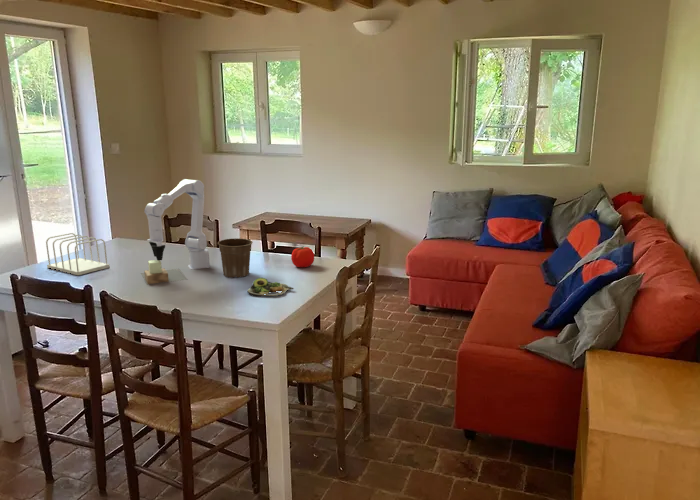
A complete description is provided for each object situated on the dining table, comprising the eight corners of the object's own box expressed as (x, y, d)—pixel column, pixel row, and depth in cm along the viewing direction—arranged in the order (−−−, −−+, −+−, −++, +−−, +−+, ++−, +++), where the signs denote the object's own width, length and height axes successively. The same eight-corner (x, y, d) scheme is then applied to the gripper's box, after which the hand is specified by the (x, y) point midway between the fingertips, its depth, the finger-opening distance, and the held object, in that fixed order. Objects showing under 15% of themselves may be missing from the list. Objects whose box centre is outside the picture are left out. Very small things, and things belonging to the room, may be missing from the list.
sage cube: (148, 271, 256) (148, 260, 254) (160, 269, 258) (159, 259, 257) (150, 274, 251) (149, 263, 250) (162, 272, 254) (161, 262, 252)
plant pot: (260, 272, 270) (259, 240, 266) (239, 281, 256) (237, 247, 252) (234, 268, 278) (232, 236, 274) (212, 276, 264) (210, 243, 260)
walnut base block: (165, 276, 262) (164, 268, 261) (168, 281, 254) (167, 273, 253) (145, 278, 258) (144, 270, 257) (147, 284, 250) (147, 275, 249)
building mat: (179, 269, 275) (179, 268, 274) (187, 280, 257) (187, 279, 257) (140, 274, 266) (140, 273, 266) (147, 285, 249) (146, 284, 249)
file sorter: (110, 267, 277) (107, 237, 273) (78, 276, 262) (74, 244, 259) (79, 260, 289) (75, 231, 286) (47, 268, 275) (43, 238, 271)
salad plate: (298, 286, 250) (298, 276, 249) (287, 299, 233) (287, 289, 232) (257, 284, 253) (256, 274, 252) (243, 296, 236) (243, 286, 235)
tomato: (309, 262, 289) (309, 243, 286) (317, 268, 279) (317, 248, 276) (287, 265, 284) (287, 245, 281) (295, 270, 274) (295, 250, 271)
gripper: (144, 227, 257) (146, 255, 260) (149, 233, 244) (151, 263, 248) (159, 225, 260) (162, 253, 263) (165, 231, 248) (167, 261, 251)
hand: (158, 258), depth 256 cm, fingers open, 7 cm apart
